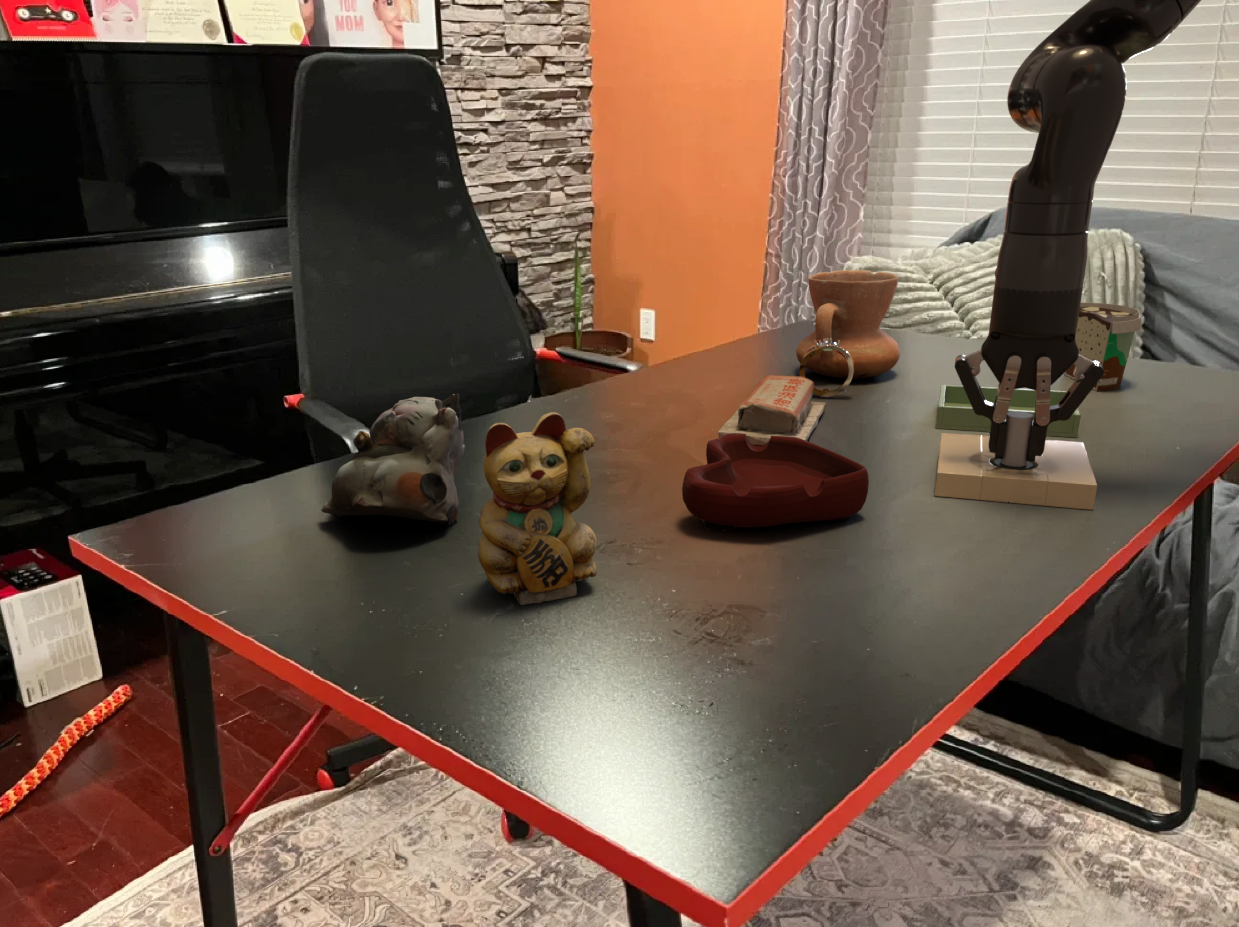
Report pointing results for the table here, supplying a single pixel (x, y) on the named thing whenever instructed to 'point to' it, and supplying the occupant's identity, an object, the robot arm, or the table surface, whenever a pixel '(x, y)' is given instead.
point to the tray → (962, 416)
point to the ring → (828, 346)
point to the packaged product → (776, 410)
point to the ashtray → (772, 484)
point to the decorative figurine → (536, 511)
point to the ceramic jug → (851, 322)
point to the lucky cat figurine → (404, 464)
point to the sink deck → (1015, 474)
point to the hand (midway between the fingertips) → (1014, 457)
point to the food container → (1106, 339)
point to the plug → (1016, 442)
